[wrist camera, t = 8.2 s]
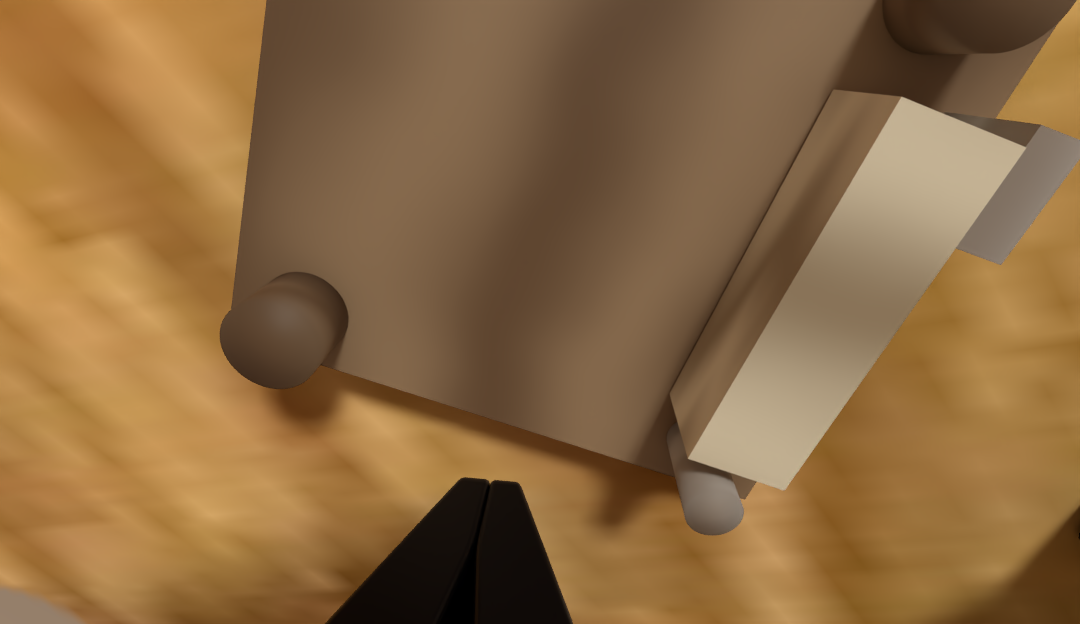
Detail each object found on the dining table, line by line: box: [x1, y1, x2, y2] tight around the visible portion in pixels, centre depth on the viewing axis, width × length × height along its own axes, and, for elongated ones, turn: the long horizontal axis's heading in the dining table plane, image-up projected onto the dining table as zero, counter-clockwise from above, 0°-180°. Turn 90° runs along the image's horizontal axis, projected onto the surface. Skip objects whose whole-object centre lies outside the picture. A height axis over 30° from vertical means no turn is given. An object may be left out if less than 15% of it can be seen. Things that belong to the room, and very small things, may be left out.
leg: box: [670, 89, 1027, 490], centre depth 13 cm, size 8×2×3 cm, turn 161°
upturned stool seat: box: [220, 0, 1080, 535], centre depth 13 cm, size 16×15×5 cm
